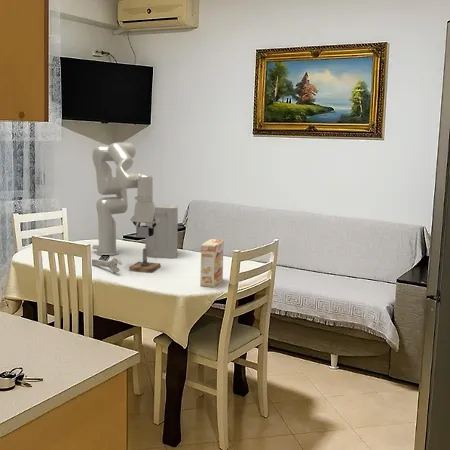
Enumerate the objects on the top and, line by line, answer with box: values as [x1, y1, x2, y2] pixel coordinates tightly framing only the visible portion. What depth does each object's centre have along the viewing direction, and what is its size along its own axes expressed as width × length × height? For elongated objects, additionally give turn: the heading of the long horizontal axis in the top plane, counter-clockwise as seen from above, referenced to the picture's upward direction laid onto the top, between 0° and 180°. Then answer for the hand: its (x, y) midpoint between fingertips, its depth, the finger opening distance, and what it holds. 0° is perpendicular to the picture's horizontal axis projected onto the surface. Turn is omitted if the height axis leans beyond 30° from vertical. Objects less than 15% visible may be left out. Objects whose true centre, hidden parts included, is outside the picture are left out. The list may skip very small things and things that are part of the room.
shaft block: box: [128, 247, 161, 274], centre depth 298 cm, size 12×12×10 cm
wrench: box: [91, 257, 122, 274], centre depth 296 cm, size 8×2×30 cm
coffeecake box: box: [199, 238, 225, 288], centre depth 275 cm, size 15×7×20 cm, turn 164°
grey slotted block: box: [136, 224, 151, 239], centre depth 295 cm, size 6×6×5 cm
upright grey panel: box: [144, 202, 179, 260], centre depth 326 cm, size 19×15×28 cm
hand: (145, 234), depth 296 cm, fingers closed on grey slotted block, 6 cm apart
